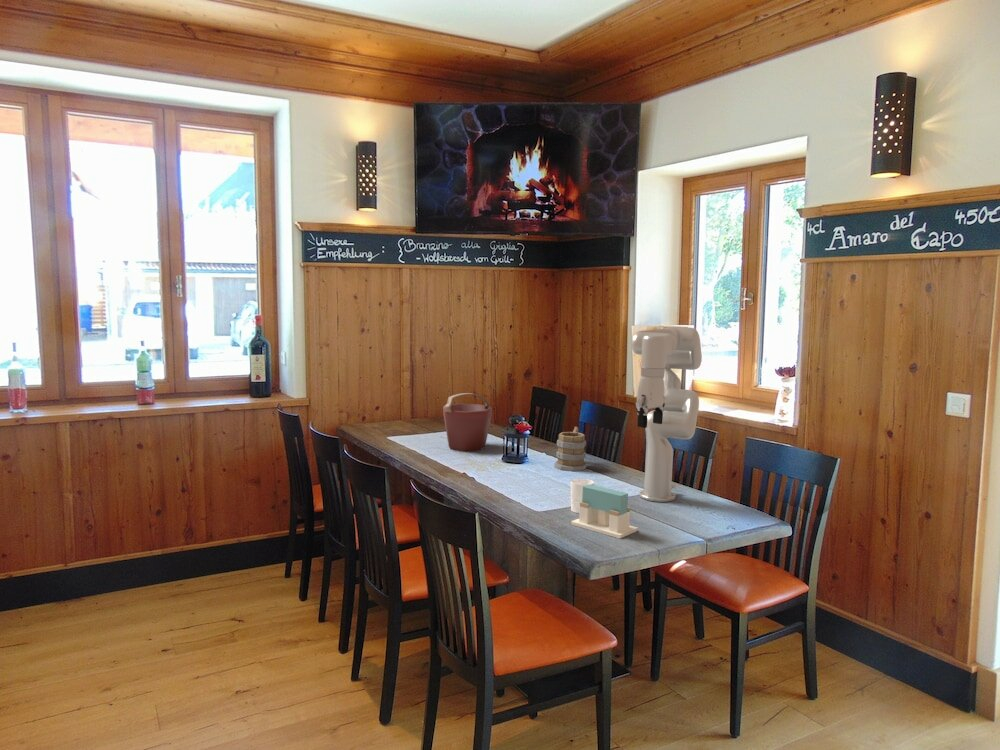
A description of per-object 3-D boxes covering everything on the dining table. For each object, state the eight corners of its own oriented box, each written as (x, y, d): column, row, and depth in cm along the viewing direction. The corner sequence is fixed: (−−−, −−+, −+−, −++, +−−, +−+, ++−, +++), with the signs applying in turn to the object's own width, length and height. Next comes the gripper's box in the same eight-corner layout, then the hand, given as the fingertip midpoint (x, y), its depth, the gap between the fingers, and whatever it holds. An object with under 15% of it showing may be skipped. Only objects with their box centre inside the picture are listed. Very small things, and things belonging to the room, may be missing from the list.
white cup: (591, 507, 247) (592, 478, 246) (594, 514, 239) (596, 485, 238) (567, 507, 247) (569, 478, 245) (570, 514, 239) (572, 484, 238)
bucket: (447, 454, 319) (448, 398, 316) (432, 443, 339) (433, 390, 336) (499, 450, 328) (500, 396, 325) (481, 440, 348) (482, 389, 345)
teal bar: (589, 502, 232) (590, 484, 231) (627, 512, 223) (628, 493, 222) (582, 505, 229) (582, 486, 228) (620, 515, 220) (620, 496, 219)
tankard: (582, 472, 294) (583, 436, 292) (551, 469, 297) (553, 433, 296) (591, 461, 312) (593, 427, 311) (563, 458, 316) (564, 424, 314)
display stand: (589, 517, 236) (590, 495, 235) (637, 530, 224) (638, 508, 223) (571, 524, 228) (571, 502, 228) (620, 538, 217) (621, 515, 216)
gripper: (655, 370, 242) (653, 420, 244) (628, 373, 229) (625, 427, 232) (676, 372, 237) (673, 423, 240) (649, 376, 225) (646, 430, 227)
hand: (649, 425), depth 236 cm, fingers open, 9 cm apart
